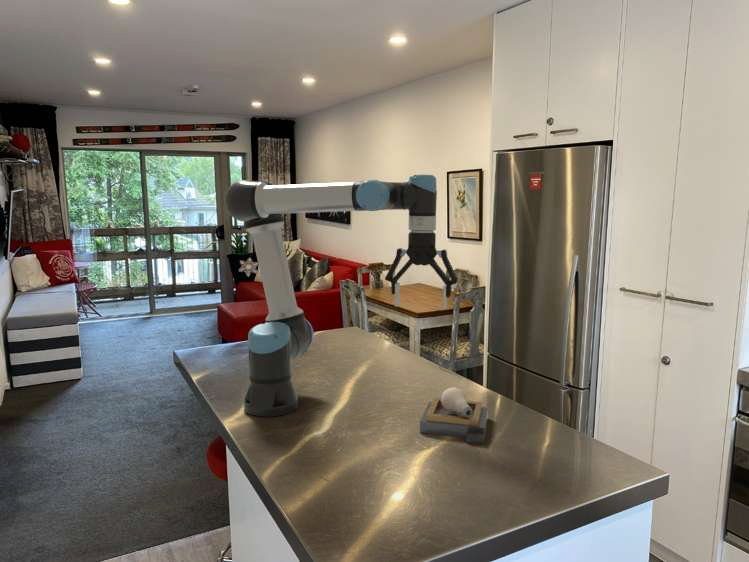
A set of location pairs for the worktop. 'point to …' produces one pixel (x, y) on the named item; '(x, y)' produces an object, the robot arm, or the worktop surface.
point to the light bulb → (455, 402)
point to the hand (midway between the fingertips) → (420, 307)
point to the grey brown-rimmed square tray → (455, 421)
